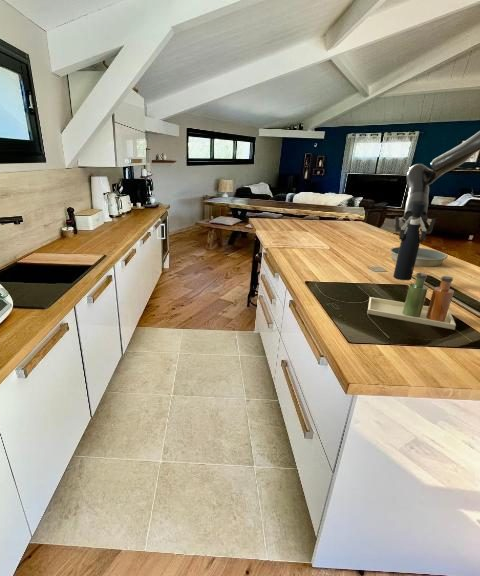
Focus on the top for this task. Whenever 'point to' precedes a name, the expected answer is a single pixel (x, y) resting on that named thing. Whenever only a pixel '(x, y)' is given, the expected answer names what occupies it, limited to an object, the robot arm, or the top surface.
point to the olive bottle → (415, 296)
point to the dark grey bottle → (409, 246)
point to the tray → (395, 311)
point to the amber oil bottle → (440, 300)
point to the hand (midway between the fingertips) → (411, 240)
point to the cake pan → (424, 257)
